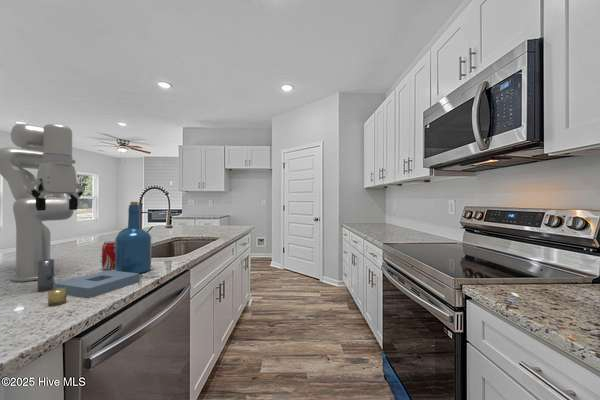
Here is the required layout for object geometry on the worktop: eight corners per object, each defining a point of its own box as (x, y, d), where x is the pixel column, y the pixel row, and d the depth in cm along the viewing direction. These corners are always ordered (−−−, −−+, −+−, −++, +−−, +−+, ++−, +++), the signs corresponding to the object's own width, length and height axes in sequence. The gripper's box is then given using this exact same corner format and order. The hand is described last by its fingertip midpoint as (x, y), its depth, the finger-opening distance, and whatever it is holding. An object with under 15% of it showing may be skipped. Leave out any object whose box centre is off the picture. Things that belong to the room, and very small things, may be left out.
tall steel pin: (34, 291, 89) (34, 261, 89) (48, 287, 93) (49, 258, 93) (42, 292, 88) (42, 261, 88) (56, 288, 92) (56, 259, 92)
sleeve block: (54, 292, 88) (54, 283, 88) (108, 277, 105) (108, 270, 105) (88, 298, 83) (88, 288, 83) (139, 281, 100) (139, 273, 100)
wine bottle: (158, 269, 118) (158, 201, 118) (129, 277, 105) (130, 201, 106) (136, 266, 123) (136, 201, 123) (106, 274, 110) (107, 201, 110)
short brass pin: (44, 305, 77) (44, 291, 77) (60, 300, 81) (60, 287, 81) (53, 307, 76) (53, 293, 76) (69, 302, 79) (69, 288, 80)
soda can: (110, 271, 115) (111, 243, 115) (97, 270, 116) (97, 242, 116) (124, 267, 122) (124, 240, 122) (111, 266, 123) (112, 240, 123)
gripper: (76, 165, 102) (76, 209, 102) (18, 157, 86) (18, 210, 85) (91, 164, 100) (91, 209, 100) (34, 156, 84) (34, 210, 83)
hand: (57, 210), depth 93 cm, fingers open, 9 cm apart
